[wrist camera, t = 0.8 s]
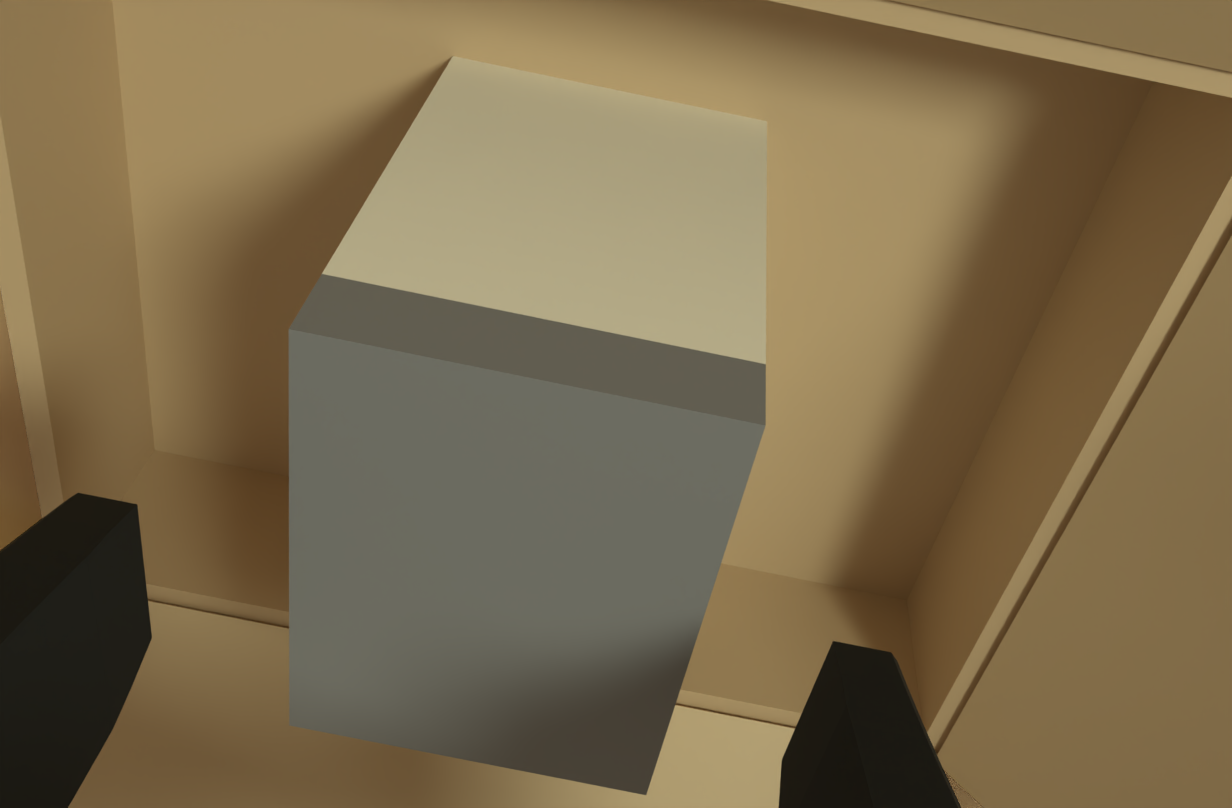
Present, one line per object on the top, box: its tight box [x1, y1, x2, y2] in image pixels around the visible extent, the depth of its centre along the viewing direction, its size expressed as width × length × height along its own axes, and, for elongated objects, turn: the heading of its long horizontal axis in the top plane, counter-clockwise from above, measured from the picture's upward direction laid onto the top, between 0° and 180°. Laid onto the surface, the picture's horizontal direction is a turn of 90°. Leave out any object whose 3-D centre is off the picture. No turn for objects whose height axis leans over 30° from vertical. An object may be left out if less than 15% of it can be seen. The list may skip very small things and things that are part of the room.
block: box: [289, 56, 767, 795], centre depth 15 cm, size 4×6×7 cm
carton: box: [0, 0, 1232, 808], centre depth 16 cm, size 18×18×6 cm
